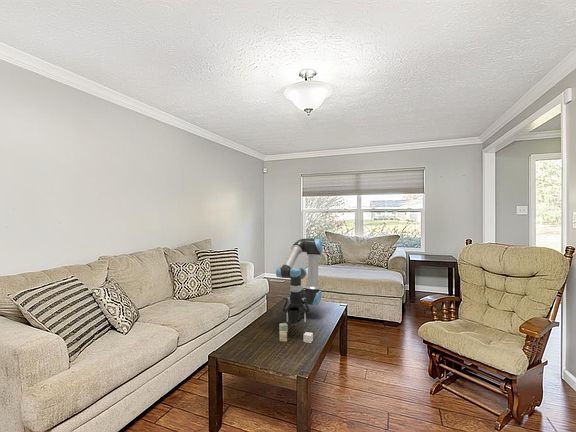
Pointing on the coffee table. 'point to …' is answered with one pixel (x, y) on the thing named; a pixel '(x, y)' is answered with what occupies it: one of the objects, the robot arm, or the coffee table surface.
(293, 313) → the mug
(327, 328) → the coffee table surface
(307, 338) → the cream cube
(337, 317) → the coffee table surface
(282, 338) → the maple cube
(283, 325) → the sage cube
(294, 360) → the coffee table surface
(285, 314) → the robot arm
